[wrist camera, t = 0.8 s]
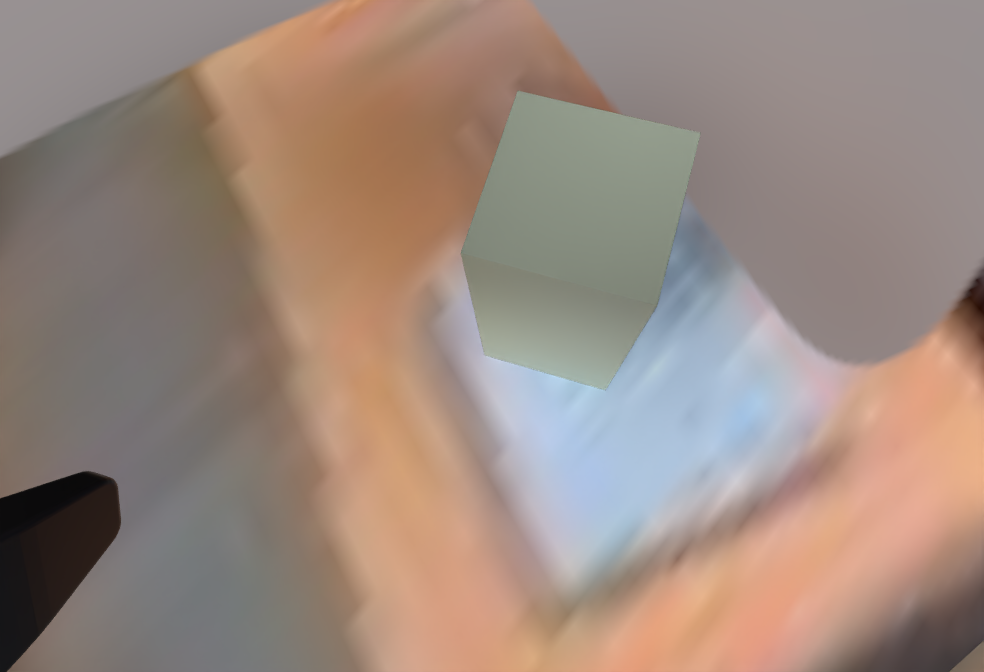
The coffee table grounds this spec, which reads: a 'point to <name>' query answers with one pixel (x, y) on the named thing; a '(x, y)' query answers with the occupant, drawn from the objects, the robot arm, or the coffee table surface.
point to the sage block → (574, 235)
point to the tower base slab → (972, 661)
